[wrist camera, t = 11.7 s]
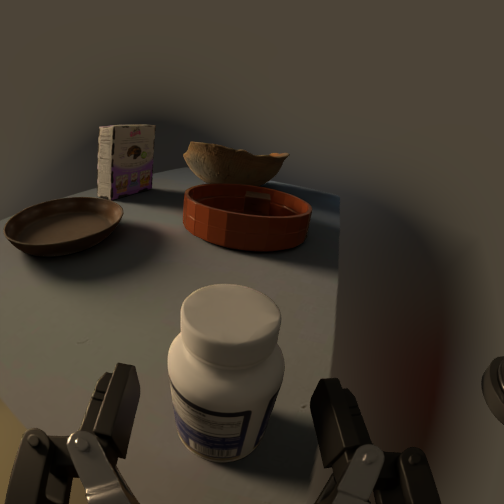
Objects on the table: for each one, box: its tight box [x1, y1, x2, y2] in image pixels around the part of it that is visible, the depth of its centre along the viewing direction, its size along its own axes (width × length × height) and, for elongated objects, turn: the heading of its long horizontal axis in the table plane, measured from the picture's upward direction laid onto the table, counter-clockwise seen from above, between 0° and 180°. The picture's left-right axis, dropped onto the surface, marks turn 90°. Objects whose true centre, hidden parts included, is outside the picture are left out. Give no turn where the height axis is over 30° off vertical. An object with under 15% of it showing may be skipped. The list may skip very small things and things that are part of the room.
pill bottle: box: [168, 284, 285, 462], centre depth 13 cm, size 5×5×10 cm
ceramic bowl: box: [183, 142, 289, 186], centre depth 77 cm, size 30×27×15 cm
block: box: [243, 191, 271, 216], centre depth 51 cm, size 4×4×4 cm
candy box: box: [97, 125, 156, 200], centre depth 58 cm, size 14×6×16 cm, turn 157°
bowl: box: [183, 183, 312, 252], centre depth 47 cm, size 21×21×6 cm
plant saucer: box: [3, 197, 123, 257], centre depth 35 cm, size 21×21×3 cm
